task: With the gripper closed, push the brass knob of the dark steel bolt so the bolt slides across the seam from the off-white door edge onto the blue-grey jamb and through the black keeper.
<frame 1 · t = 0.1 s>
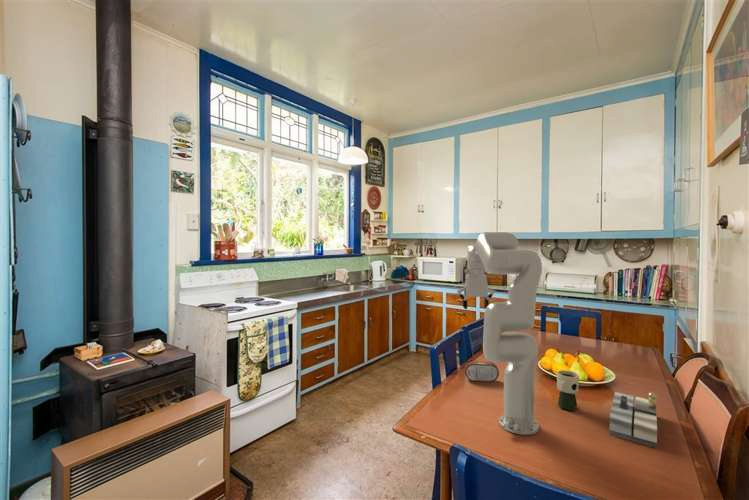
hand: (475, 308, 164), 31 cm above the table, tool pointing down, fingers open, 9 cm apart
lock board: (633, 424, 120), on the table
tin: (481, 381, 157), on the table
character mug: (567, 408, 132), on the table
bolt: (646, 400, 117), point 9 cm above the table, slide at 0.0 cm
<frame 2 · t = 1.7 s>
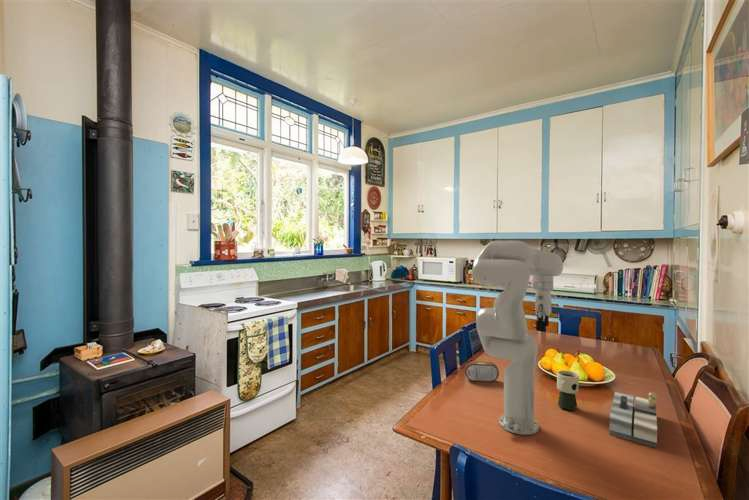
hand: (542, 328, 142), 27 cm above the table, tool pointing down, fingers open, 9 cm apart
nothing on the table moved.
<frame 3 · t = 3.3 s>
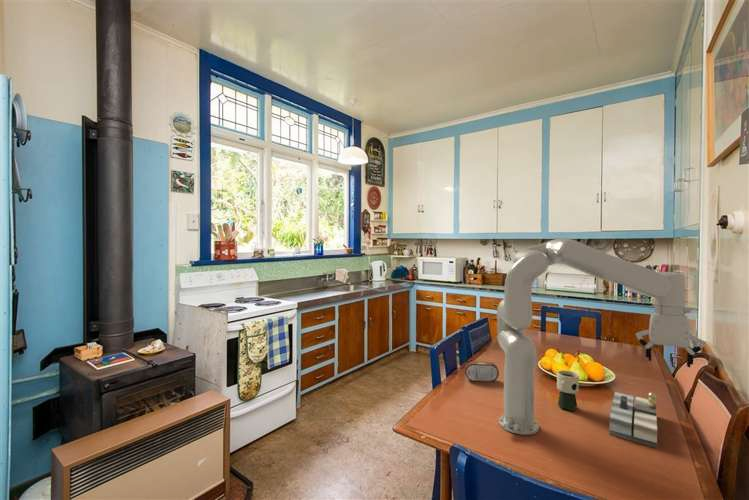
hand: (668, 362, 114), 23 cm above the table, tool pointing down, fingers open, 9 cm apart
nothing on the table moved.
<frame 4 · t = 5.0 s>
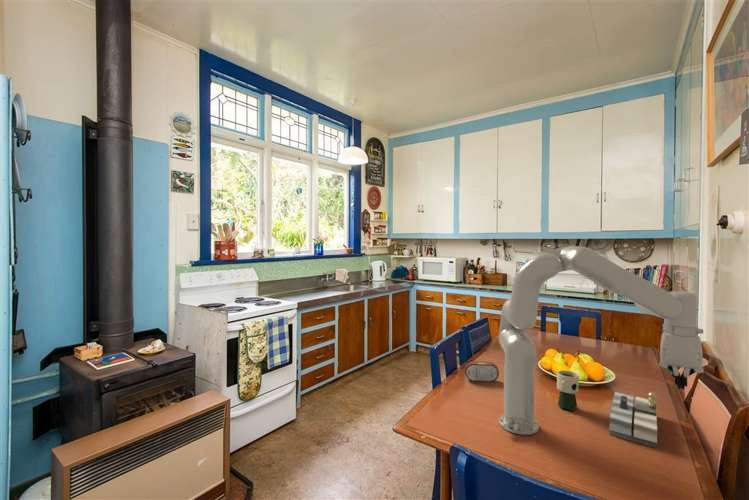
hand: (680, 387, 112), 16 cm above the table, tool pointing down, fingers closed
nothing on the table moved.
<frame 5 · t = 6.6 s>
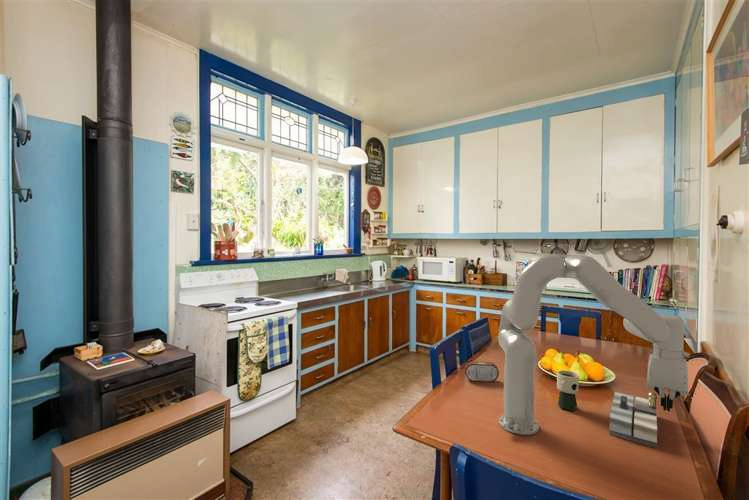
hand: (666, 409, 114), 8 cm above the table, tool pointing down, fingers closed
bolt: (646, 400, 117), point 9 cm above the table, slide at 0.0 cm, touching gripper
everything else where it was.
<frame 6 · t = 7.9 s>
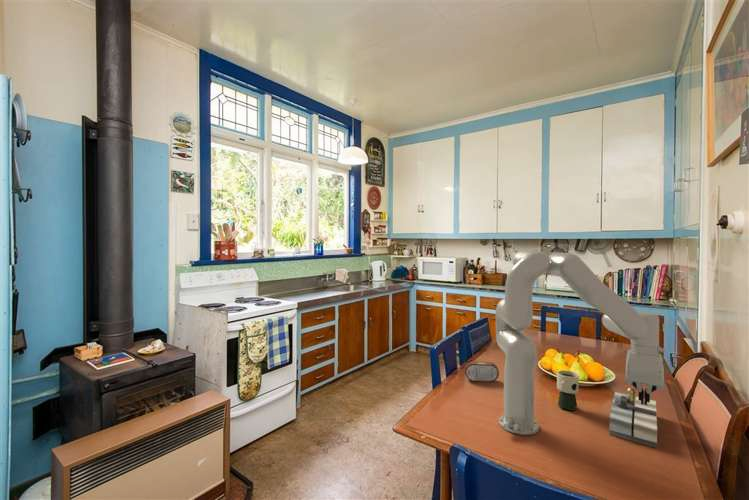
hand: (644, 403, 118), 8 cm above the table, tool pointing down, fingers closed
bolt: (625, 395, 121), point 9 cm above the table, slide at 5.7 cm, touching gripper
everything else where it was.
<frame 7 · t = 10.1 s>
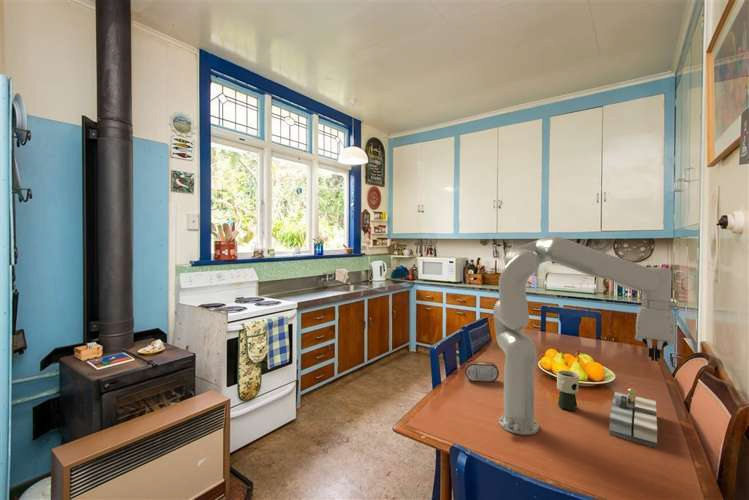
hand: (654, 359, 116), 23 cm above the table, tool pointing down, fingers closed
bolt: (625, 396, 121), point 9 cm above the table, slide at 5.5 cm
everything else where it was.
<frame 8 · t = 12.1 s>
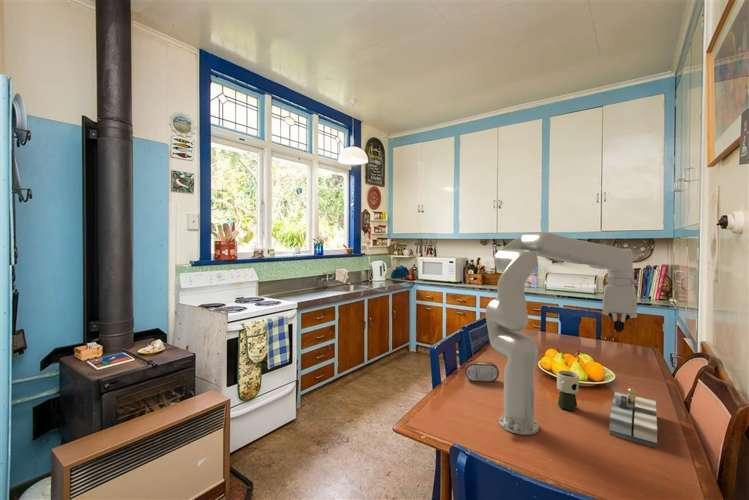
hand: (618, 331, 130), 29 cm above the table, tool pointing down, fingers closed
nothing on the table moved.
at the end: bolt slide at 5.5 cm; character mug moved 0.2 cm from its start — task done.
